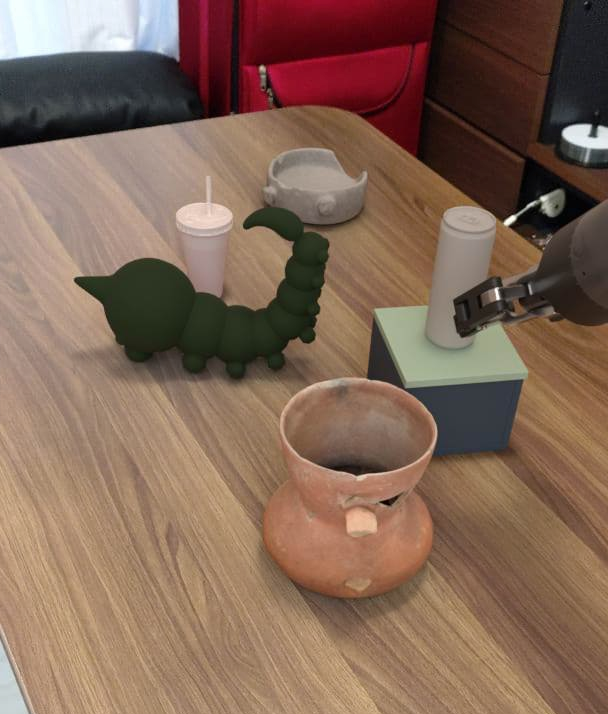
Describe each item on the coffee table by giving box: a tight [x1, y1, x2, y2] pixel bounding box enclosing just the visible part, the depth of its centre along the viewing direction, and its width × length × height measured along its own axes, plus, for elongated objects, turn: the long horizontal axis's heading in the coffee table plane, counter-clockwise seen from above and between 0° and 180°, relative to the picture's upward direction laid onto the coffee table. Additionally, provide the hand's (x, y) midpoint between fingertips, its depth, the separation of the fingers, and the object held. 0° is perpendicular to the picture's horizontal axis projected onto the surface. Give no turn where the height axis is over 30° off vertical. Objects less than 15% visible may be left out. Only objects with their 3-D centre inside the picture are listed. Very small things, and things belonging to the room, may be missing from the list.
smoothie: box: [175, 175, 234, 299], centre depth 109 cm, size 6×6×14 cm
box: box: [366, 316, 525, 457], centre depth 96 cm, size 12×12×9 cm
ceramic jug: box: [261, 376, 437, 599], centre depth 80 cm, size 18×14×14 cm
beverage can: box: [425, 205, 497, 350], centre depth 88 cm, size 5×5×12 cm
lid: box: [372, 304, 530, 388], centre depth 92 cm, size 12×12×1 cm
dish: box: [261, 147, 369, 225], centre depth 130 cm, size 14×14×5 cm
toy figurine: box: [73, 206, 331, 379], centre depth 98 cm, size 9×19×25 cm
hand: (506, 317), depth 81 cm, fingers open, 8 cm apart
